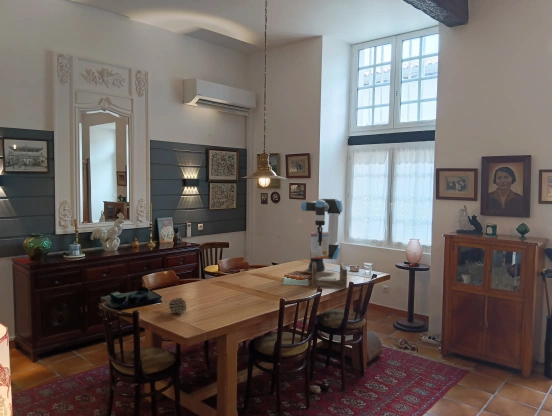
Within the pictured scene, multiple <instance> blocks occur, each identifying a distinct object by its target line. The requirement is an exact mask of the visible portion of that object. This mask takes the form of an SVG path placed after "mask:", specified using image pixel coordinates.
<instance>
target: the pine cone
mask: <svg viewBox="0 0 552 416" xmlns="http://www.w3.org/2000/svg"><path fill="white" fill-rule="evenodd" d="M165 303H166V304H167V305H168V309H169V310H170V312H171V313H174V314H184V312H186V311H187V310H188V309H187V308H188V307H187V305H188V304H187V302H186V300H185V299H183V298H182V297H176V298H173V299H171V300H168V299H167V298H166V299H165Z"/></svg>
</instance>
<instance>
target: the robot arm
mask: <svg viewBox="0 0 552 416" xmlns="http://www.w3.org/2000/svg"><path fill="white" fill-rule="evenodd" d="M300 209H301V211H302V212H315V215H314V218H315V226H317V228H316V229H317V232H318V233H319V240H318V250H322V232H323V226H325V223H326V222H325V221H326V213H327V216H328V224H327V225H328V227H327V232H328V233H329V247H328V259H327V260H332V261H333V260H338V259H339V258H340V255H341V246H340V244H339V243H338V237H339V236H338V232H339V229H338V228H339V217H340V216H341V213H343V210H344V209H343V203H342V200H341V199H338V198H321V199H316V200H314V201H302V202H301V203H300ZM309 253H310V254H309V255H310V256H309V257H310V260H309V263H308V266H307V269H308V271H311V272H312V262H316V267H317V272H322V271H324V272H325V270H326V267H325V263H324V259H318V258H317V259H316V258H311V248H310V252H309Z"/></svg>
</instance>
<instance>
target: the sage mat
mask: <svg viewBox="0 0 552 416" xmlns="http://www.w3.org/2000/svg"><path fill="white" fill-rule="evenodd" d="M287 277H288V276H284V277H283V281H282V285H283V286H303V287H304V286H307V287H308V286H309V285H310V284H309V278H308V279H305V280H296V279H291V278H287Z"/></svg>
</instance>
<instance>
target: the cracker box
mask: <svg viewBox="0 0 552 416" xmlns="http://www.w3.org/2000/svg"><path fill="white" fill-rule="evenodd" d="M318 240H319V233H318V231H311V232H310V249H311V258H316V259H317V258H318V259H323V260H329V259H328V247H329V233H328V231H322V250H318Z"/></svg>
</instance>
